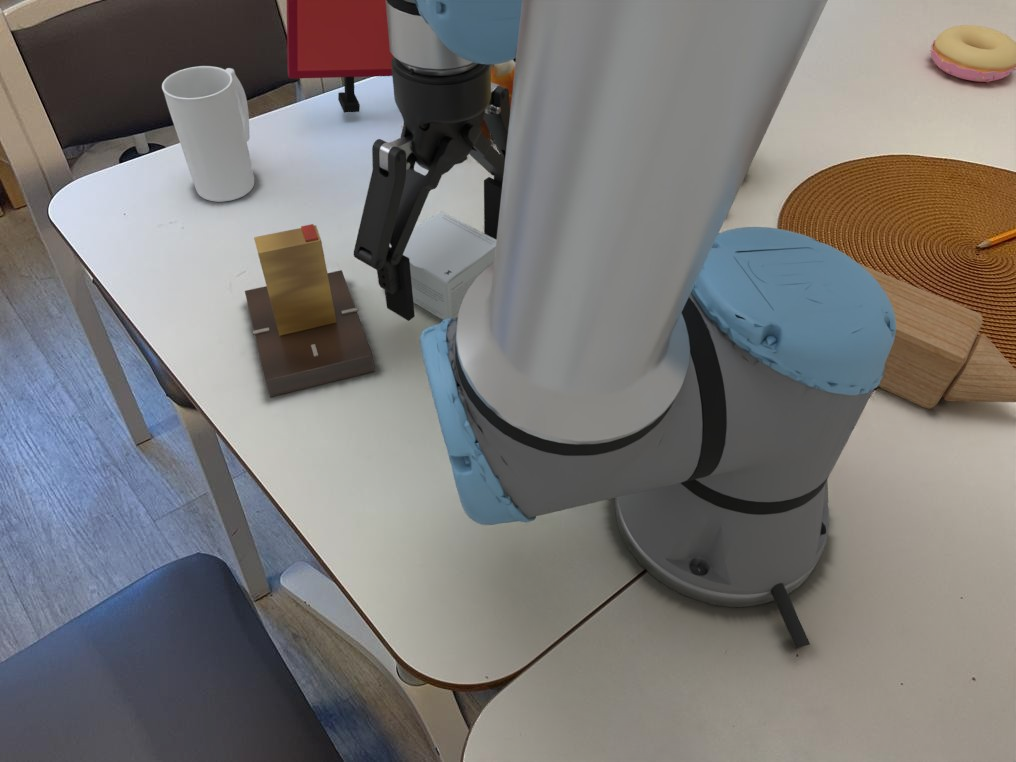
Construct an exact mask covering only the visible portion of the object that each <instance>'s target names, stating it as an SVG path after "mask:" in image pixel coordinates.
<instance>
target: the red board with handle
mask: <svg viewBox="0 0 1016 762" xmlns="http://www.w3.org/2000/svg"><path fill="white" fill-rule="evenodd" d="M286 50H287V51H286V52H287V53H286V55H287V57H286V58H287V59H286V60H287V62H286V63H287V64H286V65H287V76H288V79H290V80H291V79H294V80H295V79H331V78H332V79H333V78H343V79H344V80H343V81H344V82H343V83H344V92H338V94H337V95H338V96H337V97H338V98H337V99H338V102H339V105H340V107H341V110H342V111H343V113H345V114H346V113H360V110H361V104H360V102H359V100H358V97H357V96H356V94H355V78H369V77H370V78H371V77H374V78H375V77H392V67H391V61H392V58H393V55H392V53H391V52H390V46H389V34H388V23H387V11H386V0H286ZM513 61H514V62H516V58H514V59H513ZM491 66H492V67H494V64H491Z"/></svg>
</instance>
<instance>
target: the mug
mask: <svg viewBox="0 0 1016 762" xmlns="http://www.w3.org/2000/svg"><path fill="white" fill-rule="evenodd" d="M161 89H162V92H163V95H164V99H165V102H166V105H167V108H168V112H169V114H170V117H171V120H172V123H173V126H174V130H175V132H176V135H177V139H178V141H179V144H180V146H181V151H182V153H183V157H184V160H185V162H186V165H187V168H188V171H189V174H190V177H191V180H192V183H193V184H194V187H195V190H196V193H197V195H199V196H200V197H201V198H202V199H204V200H207V201H209V202H217V203H219V202H220V203H221V202H230V201H234V200H238V199H240V198H242V197H244V196H246V195H247V194H248V193H250V192H251V191H252V190H253V188H254V186H255V175H254V170H253V166H252V161H251V160H252V159H251V155H250V151H249V146H248V142H249V141H250V138H251V137H250V135H251V134H250V115H249V114H250V113H249V107H248V106H249V105H248V99H247V95H246V93H245V89H244V86H243V85H242V83H241V81H240V79H239V78H238V76H237V74H236V72H235V69H234V68H231V67H227V68H225V69H224V68H223V67H218V66H211V65H199V66H192V67H187V68H184V69H179V70H177V71H175V72H173V73H171V74H170V75H168V76H167V77H166V78H165V79H164V80H163V82H162V83H161Z"/></svg>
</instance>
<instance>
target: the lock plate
mask: <svg viewBox="0 0 1016 762" xmlns="http://www.w3.org/2000/svg"><path fill="white" fill-rule="evenodd" d="M327 274H328V279H329V285H330V290H331V295H332V301H333V306H334V311H335V317H336V323H333V324H328V325H324V326H320V327H315V328H311V329H307V330H302V331H298V332H294V333H289V334H285V335H281V336H280V335H279V332H278V328H277V324H276V320H275V317H274V313H273V309H272V305H271V301H270V297H269V294H268V290H267V286H266V285H265V286H260V287H256V288H251V289H247V290H244V295H245V298H246V303H247V309H248V311H249V316H250V321H251V325H252V335H253V336H254V338H255V343H256V347H257V352H258V356H259V360H260V364H261V369H262V372H263V373H262V374H263V378H264V381H265V385H266V389H267V392H268V396H269V397H270V398H271V397H276V396H280V395H284V394H288V393H292V392H297V391H300V390H305V389H309V388H312V387H317V386H321V385H325V384H330V383H333V382H337V381H341V380H345V379H349V378H353V377H358V376H361V375H362V376H363V375H365V374H370V373H373V372H375V371H376V370H375V365H374V364H375V363H374V358H373V357H374V356H373V353H372V350H371V348H370V345H369V341H368V339H367V336H366V333H365V331H364V328H363V325H362V323H361V319H360V317H359V314H358V307H356V306H355V303H354V301H353V297H352V295H351V292H350V289H349V287H348V283H347V280H346V278H345V275H344V272H343V270H342V269H340V270H336V271H331V272H327Z"/></svg>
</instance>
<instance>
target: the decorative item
mask: <svg viewBox="0 0 1016 762" xmlns="http://www.w3.org/2000/svg"><path fill="white" fill-rule="evenodd" d="M857 263H858V262H857ZM858 264H860V265H861V266H862V267H863V268H864V269H866V270H867V271H868V272H869V273H870V274H871V275H872V276H873V277H874V278H875V279H876V280H877V282H878V283H879V284H880V286H881V287H882V288H883V290H884V291H885V293H886V294H887V296H888V298H889V300H890V302H891V304H892V307H893V310H894V314H895V320H896V333H895V339H894V342H893V345H892V347H891V350H890V352H889V355H888V357H887V360H886V362H885V369H884V374H883V377H882V379H881V380H880V384H879V385H878V386H877V387H879V388H880V389H883V390H885V391H887V392H890V393H891V394H893V395H896V396H897V397H901V398H902V399H905V400H907V401H909V402H911V403H913V404H914V405H915V404H916V405H917V406H920V407H921V408H924V409H929V410H931V408H933V407H935V406H937V405H938V403H939V402H940V400H941V398H943V400H945V401H946V402H973V403H975V402H979V403H982V402H983V403H984V402H986V403H1016V368H1014V366H1013V365H1012V364H1011V363H1010V362H1009V361H1008V359H1007V358H1006V357H1005V356H1004V354H1002V352H1001V351H1000V350H999V349H998V348H997V347H996V345H995V344H994V343H993V342H992V341H991V340H990V338H989V337H988V336H987V335H985V334H982V333H981V334H979V332H980V330H981V327H982V325H983V315H981V314H980V313H979V312H977V311H975V310H972V309H971V308H967V307H965V306H962V305H961V304H958V303H955V302H953V301H951V300H948V299H946V298H943V297H941V296H939V295H936V294H934V293H931V292H929V291H926V290H924V289H921V288H919V287H916V286H914V285H912V284H909V283H907V282H904V281H902V280H900V279H897V278H895V277H892V276H890V275H888V274H885V273H882V272H881V271H878V270H876V269H873V268H871V267H869V266H866V265H863V264H861V263H858Z"/></svg>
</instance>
